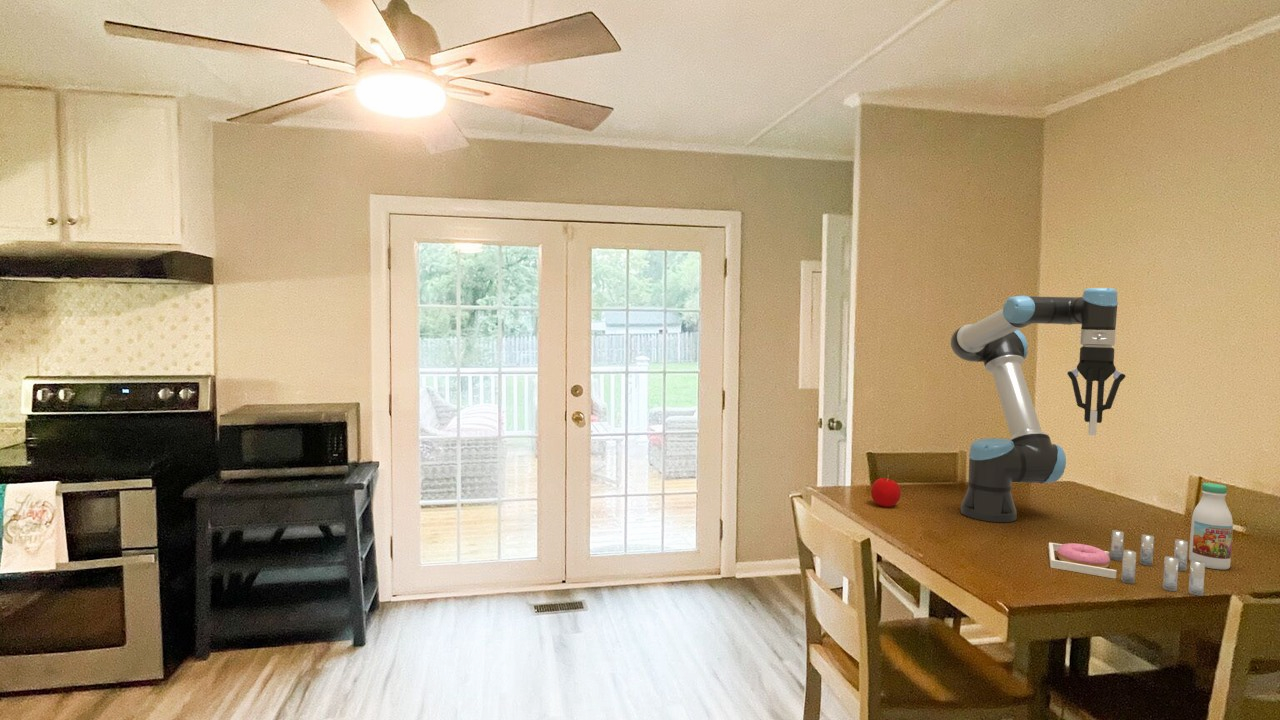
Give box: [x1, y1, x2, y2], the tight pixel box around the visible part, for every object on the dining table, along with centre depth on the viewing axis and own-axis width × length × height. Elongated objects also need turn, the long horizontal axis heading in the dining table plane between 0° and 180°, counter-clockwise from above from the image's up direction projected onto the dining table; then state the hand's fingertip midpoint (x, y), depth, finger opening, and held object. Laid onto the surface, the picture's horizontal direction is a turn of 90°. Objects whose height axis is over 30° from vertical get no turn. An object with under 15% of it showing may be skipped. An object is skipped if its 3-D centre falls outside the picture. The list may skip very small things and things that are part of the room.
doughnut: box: [1055, 542, 1111, 569], centre depth 161 cm, size 11×11×4 cm
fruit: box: [870, 474, 902, 508], centre depth 210 cm, size 9×9×10 cm
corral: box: [1048, 542, 1117, 579], centre depth 161 cm, size 13×16×2 cm
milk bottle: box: [1188, 482, 1234, 571], centre depth 161 cm, size 8×8×20 cm
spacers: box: [1109, 529, 1206, 597], centre depth 154 cm, size 15×19×7 cm
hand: (1092, 434), depth 175 cm, fingers closed
